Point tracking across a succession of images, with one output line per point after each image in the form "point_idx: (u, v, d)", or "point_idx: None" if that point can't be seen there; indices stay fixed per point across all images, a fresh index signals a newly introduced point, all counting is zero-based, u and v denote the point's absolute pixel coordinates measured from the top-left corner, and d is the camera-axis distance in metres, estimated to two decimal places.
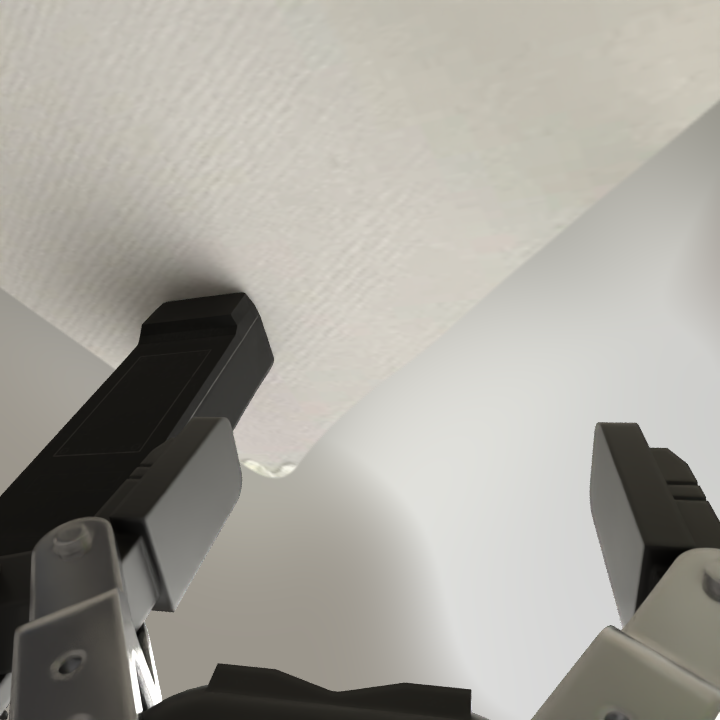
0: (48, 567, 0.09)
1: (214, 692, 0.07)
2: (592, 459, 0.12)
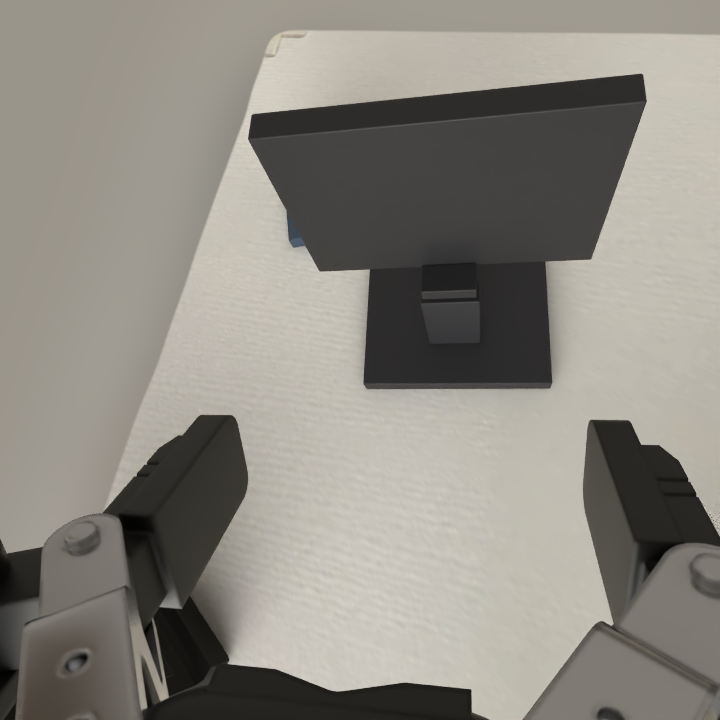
0: (58, 563, 0.09)
1: (214, 691, 0.07)
2: (585, 456, 0.12)
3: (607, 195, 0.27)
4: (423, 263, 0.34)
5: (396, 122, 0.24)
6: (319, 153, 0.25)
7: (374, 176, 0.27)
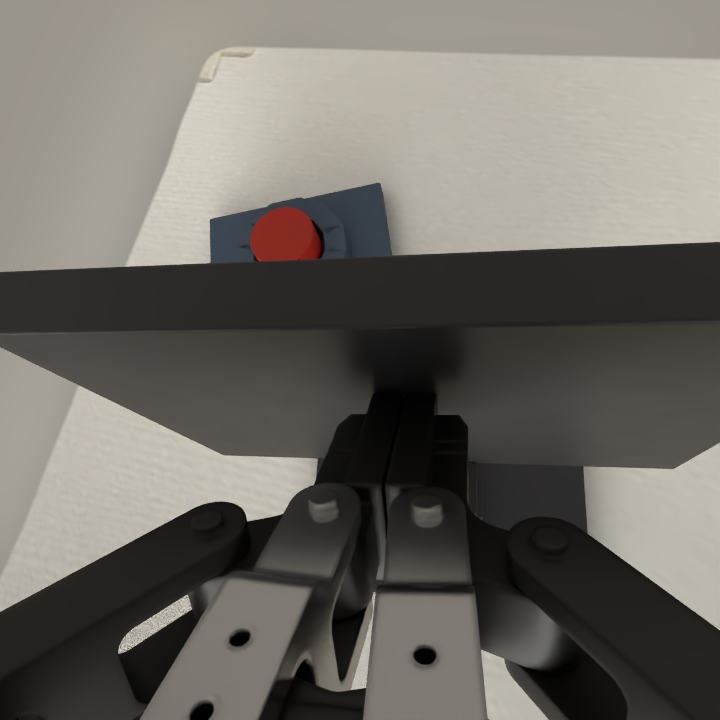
0: (294, 520, 0.09)
1: None
2: None
3: None
4: None
5: (290, 321, 0.10)
6: (139, 356, 0.12)
7: (269, 385, 0.13)
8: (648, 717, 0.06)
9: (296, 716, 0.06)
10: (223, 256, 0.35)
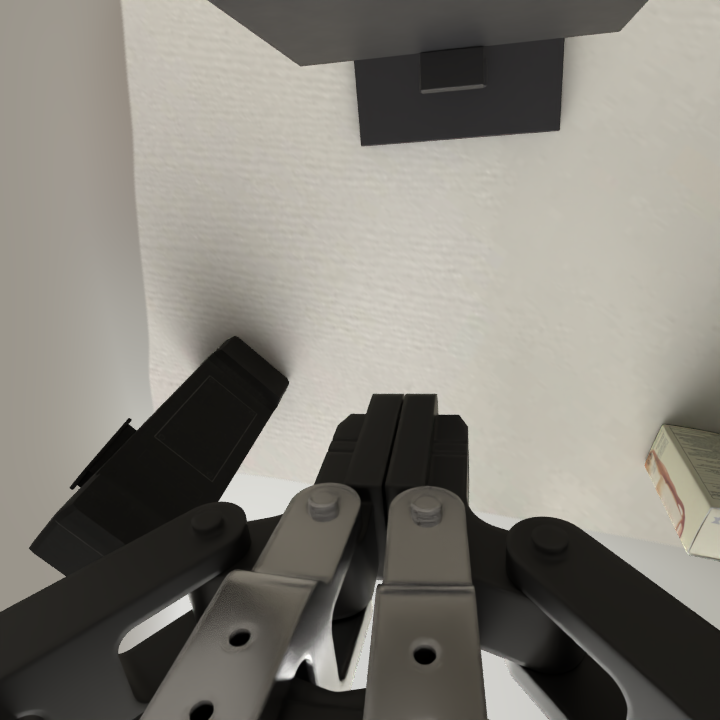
0: (294, 520, 0.09)
1: None
2: None
3: None
4: (421, 51, 0.29)
5: None
6: None
7: (361, 5, 0.21)
8: (648, 717, 0.06)
9: (296, 716, 0.06)
10: None
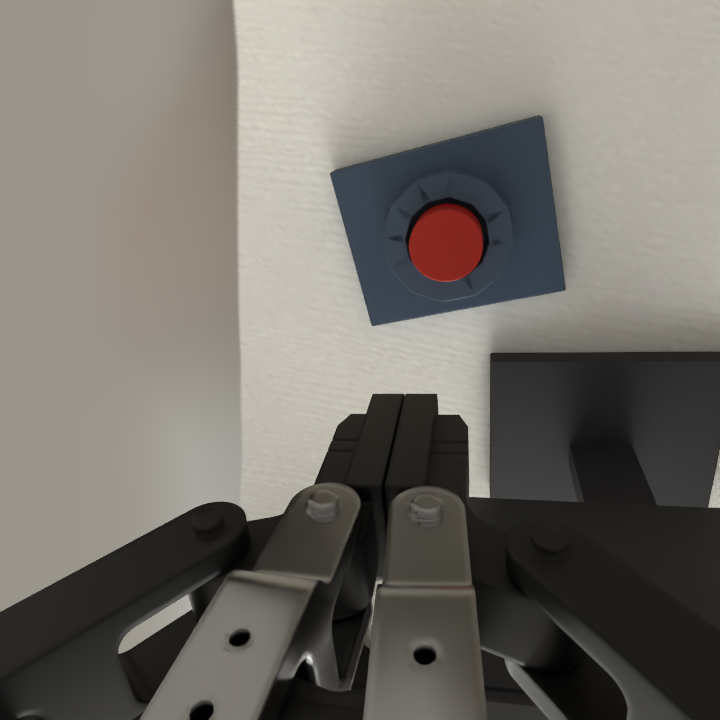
0: (294, 520, 0.09)
1: None
2: None
3: None
4: None
5: None
6: None
7: None
8: (648, 717, 0.06)
9: (296, 716, 0.06)
10: (359, 223, 0.32)
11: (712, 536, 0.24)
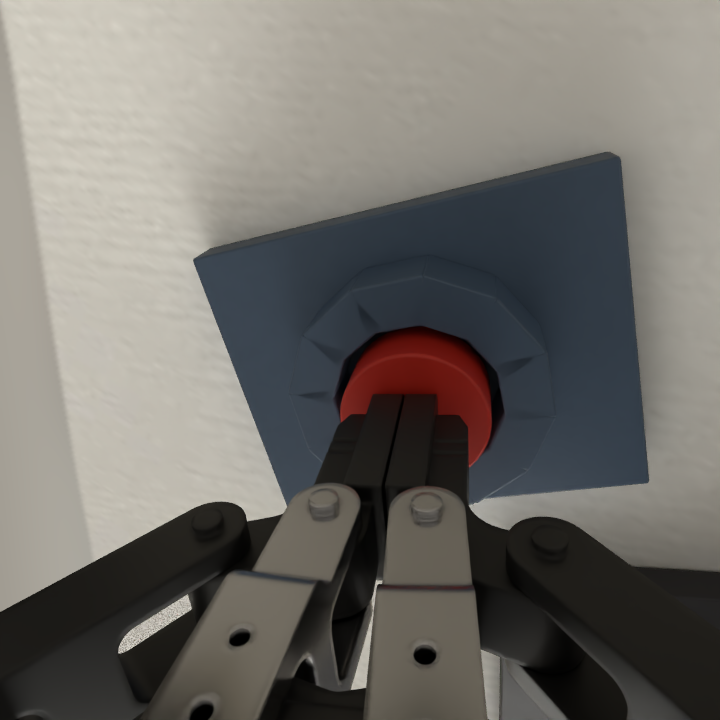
0: (294, 520, 0.09)
1: None
2: None
3: None
4: None
5: None
6: None
7: None
8: (648, 717, 0.06)
9: (296, 716, 0.06)
10: (255, 350, 0.17)
11: None
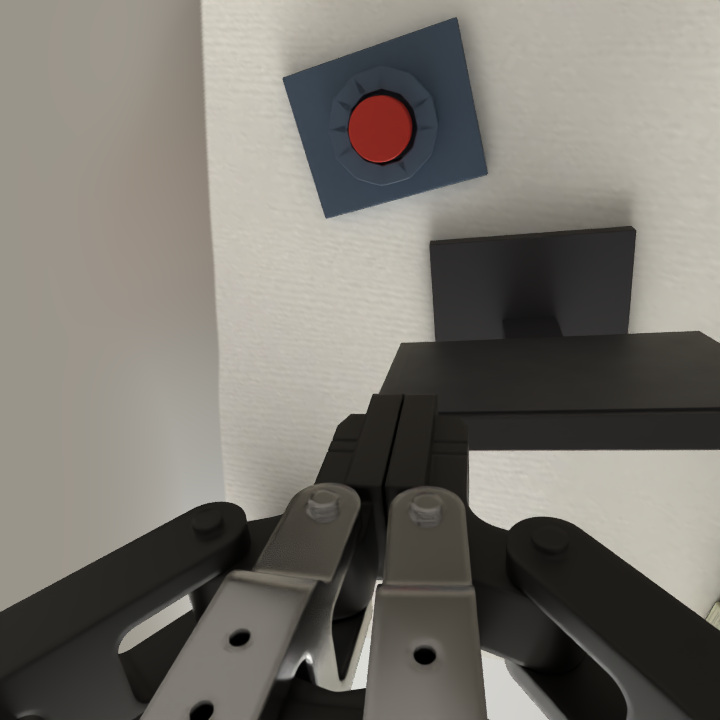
0: (294, 520, 0.09)
1: None
2: None
3: None
4: None
5: (540, 447, 0.21)
6: None
7: None
8: (648, 717, 0.06)
9: (296, 716, 0.06)
10: (309, 122, 0.37)
11: (598, 345, 0.29)
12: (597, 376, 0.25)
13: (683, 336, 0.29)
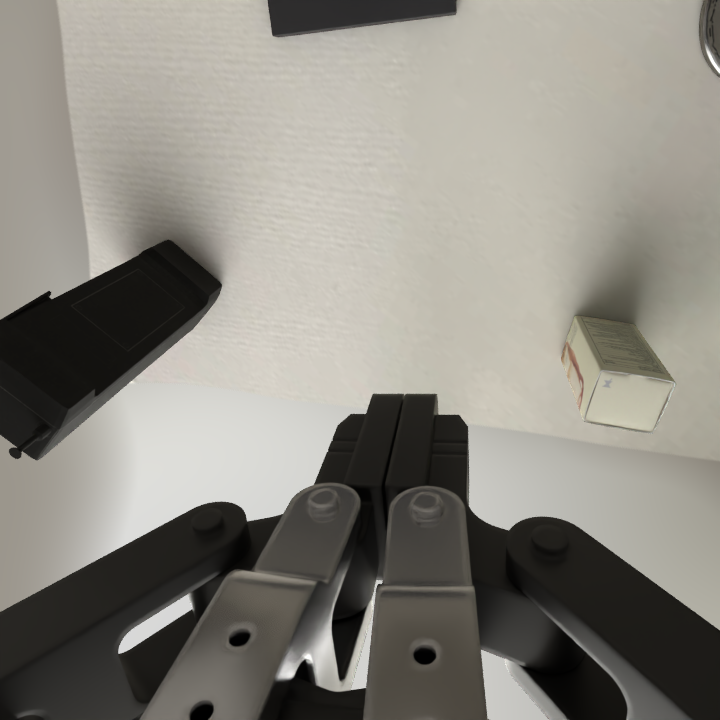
0: (294, 520, 0.09)
1: None
2: None
3: None
4: None
5: None
6: None
7: None
8: (648, 717, 0.06)
9: (296, 716, 0.06)
10: None
11: None
12: None
13: None
